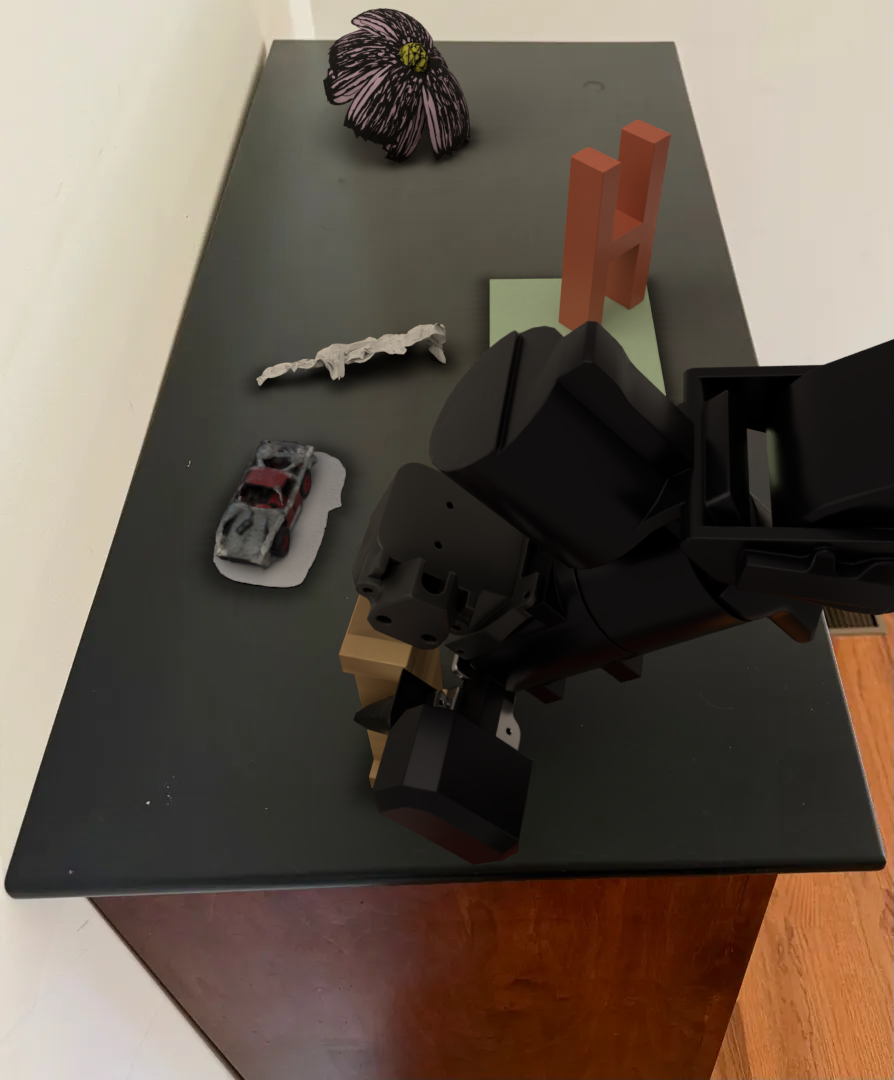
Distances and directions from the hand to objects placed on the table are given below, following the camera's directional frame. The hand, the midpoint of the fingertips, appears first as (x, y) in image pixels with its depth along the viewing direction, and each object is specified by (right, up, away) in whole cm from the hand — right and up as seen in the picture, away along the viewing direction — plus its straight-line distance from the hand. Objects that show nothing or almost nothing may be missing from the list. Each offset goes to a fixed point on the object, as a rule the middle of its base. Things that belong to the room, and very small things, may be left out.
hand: (375, 675), depth 46 cm
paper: (-4, +20, +25) cm, 32 cm away
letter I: (+2, -5, +5) cm, 7 cm away
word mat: (+13, +20, +24) cm, 34 cm away
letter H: (+16, +25, +28) cm, 41 cm away
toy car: (-8, +8, +16) cm, 20 cm away
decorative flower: (-1, +48, +47) cm, 67 cm away
